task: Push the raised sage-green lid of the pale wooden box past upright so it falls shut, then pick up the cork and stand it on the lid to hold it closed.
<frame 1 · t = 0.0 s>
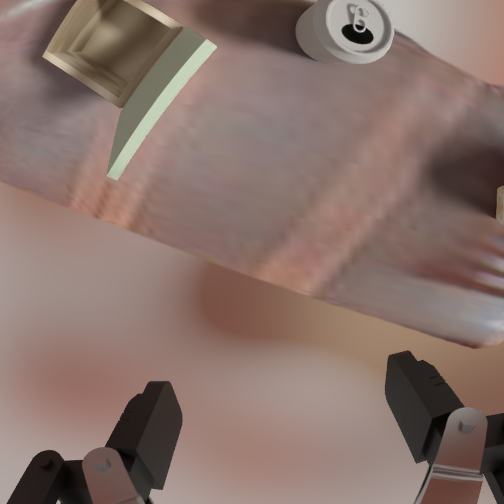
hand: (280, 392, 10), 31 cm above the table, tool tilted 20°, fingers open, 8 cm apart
can: (325, 34, 28), on the table
box: (131, 41, 27), on the table
lid: (154, 86, 19), point 14 cm above the table, hinge at 110.1°
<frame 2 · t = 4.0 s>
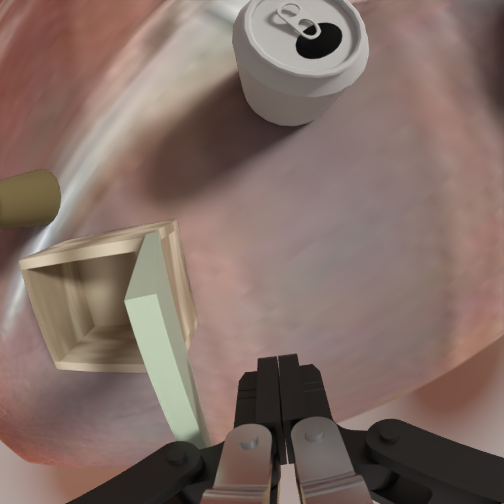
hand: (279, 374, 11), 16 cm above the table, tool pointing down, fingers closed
can: (287, 87, 23), on the table
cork: (41, 197, 26), on the table
box: (129, 281, 27), on the table
lid: (176, 356, 14), point 14 cm above the table, hinge at 108.7°, touching gripper
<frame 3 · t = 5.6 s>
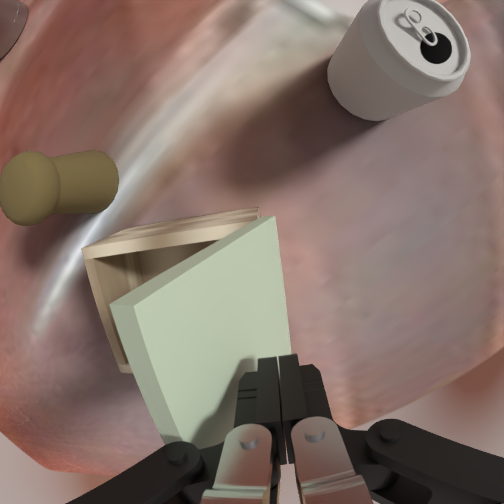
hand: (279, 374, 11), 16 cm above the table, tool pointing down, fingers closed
can: (365, 83, 23), on the table
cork: (92, 181, 25), on the table
box: (199, 273, 27), on the table
lid: (245, 356, 13), point 14 cm above the table, hinge at 73.1°
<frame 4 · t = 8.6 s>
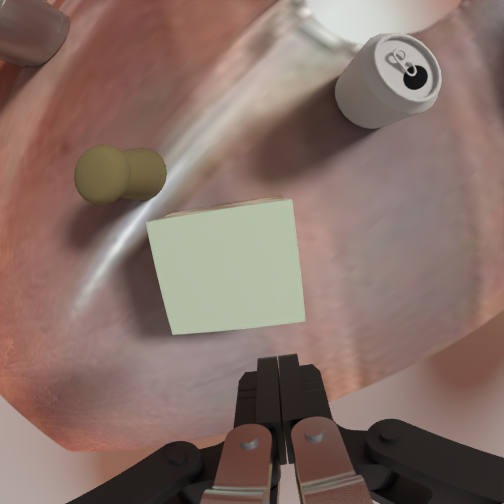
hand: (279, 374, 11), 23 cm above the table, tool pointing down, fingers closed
can: (364, 98, 29), on the table
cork: (142, 174, 32), on the table
box: (233, 248, 34), on the table
lid: (226, 272, 25), point 9 cm above the table, hinge at -0.2°
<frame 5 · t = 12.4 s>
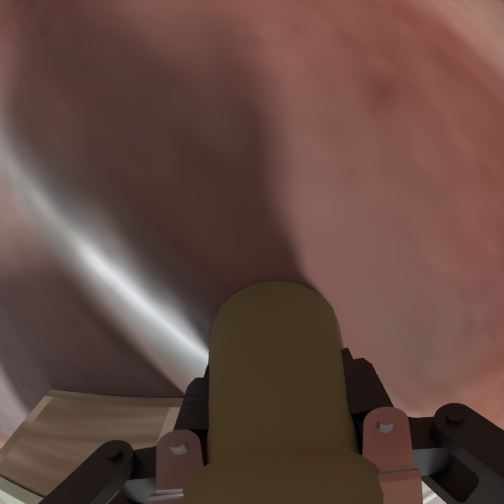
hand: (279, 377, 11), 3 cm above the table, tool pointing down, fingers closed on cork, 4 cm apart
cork: (275, 340, 14), on the table, touching gripper
box: (143, 457, 16), on the table
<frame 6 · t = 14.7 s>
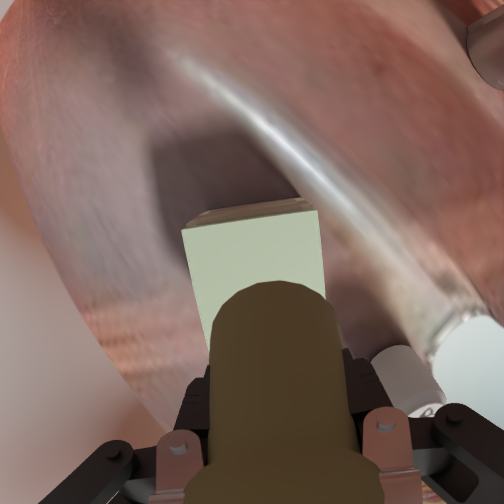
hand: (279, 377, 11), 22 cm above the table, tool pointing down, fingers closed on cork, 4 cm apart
can: (389, 363, 36), on the table
coffeecake box: (419, 486, 45), on the table
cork: (275, 339, 14), point 19 cm above the table, touching gripper
box: (261, 259, 33), on the table
lid: (259, 292, 25), point 9 cm above the table, hinge at -0.2°
when the fingers open (13 cm above the table, at t = 16.9 s): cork stays where it is, resting on lid.
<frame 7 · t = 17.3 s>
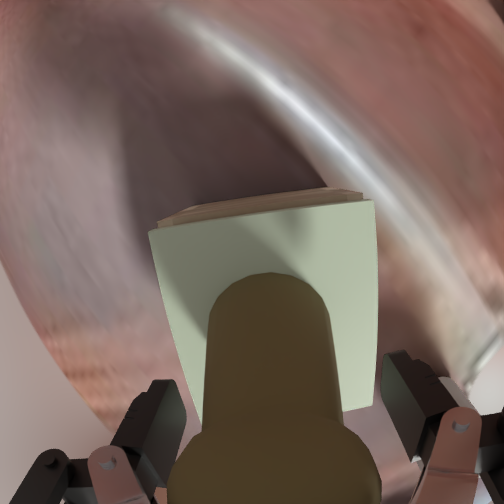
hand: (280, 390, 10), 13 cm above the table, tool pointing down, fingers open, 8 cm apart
can: (423, 398, 26), on the table
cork: (269, 329, 15), point 9 cm above the table, touching lid
box: (271, 274, 23), on the table
lid: (276, 332, 15), point 9 cm above the table, hinge at -0.3°, touching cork
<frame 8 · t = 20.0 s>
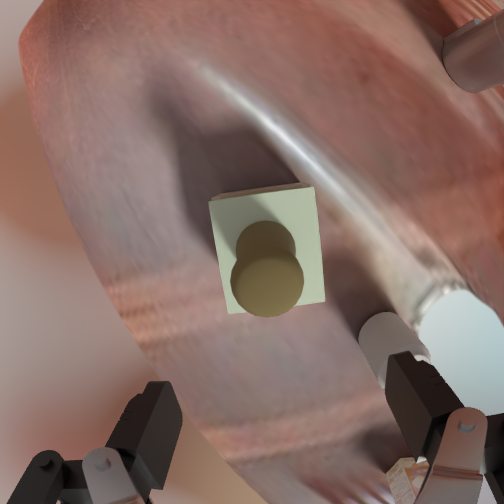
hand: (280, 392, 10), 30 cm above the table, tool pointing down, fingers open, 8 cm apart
can: (379, 331, 42), on the table
coffeecake box: (414, 464, 52), on the table
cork: (265, 250, 31), point 9 cm above the table, touching lid
box: (267, 234, 39), on the table
lid: (269, 252, 31), point 9 cm above the table, hinge at -0.3°, touching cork
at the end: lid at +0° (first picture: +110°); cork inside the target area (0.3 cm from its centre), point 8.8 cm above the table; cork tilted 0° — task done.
